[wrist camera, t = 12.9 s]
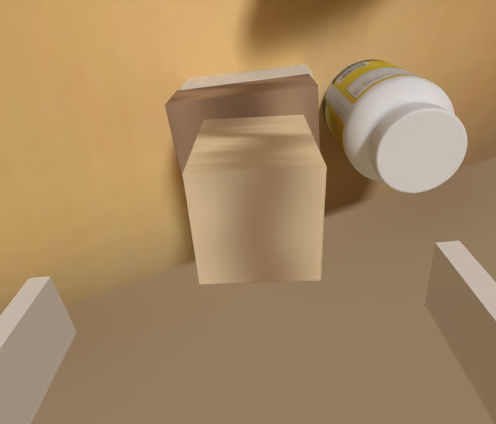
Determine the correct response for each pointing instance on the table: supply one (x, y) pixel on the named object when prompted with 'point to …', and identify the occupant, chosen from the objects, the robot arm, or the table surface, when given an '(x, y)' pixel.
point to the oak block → (256, 200)
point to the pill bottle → (395, 126)
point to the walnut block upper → (240, 106)
